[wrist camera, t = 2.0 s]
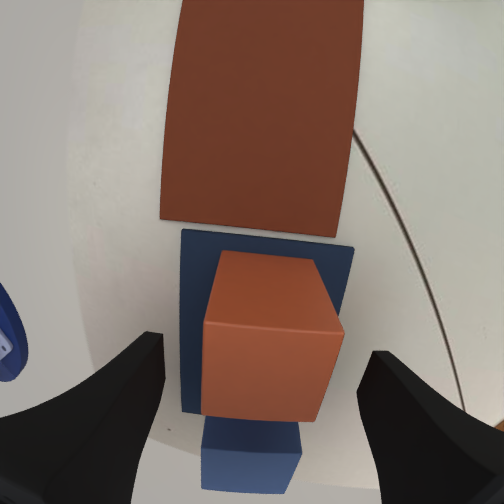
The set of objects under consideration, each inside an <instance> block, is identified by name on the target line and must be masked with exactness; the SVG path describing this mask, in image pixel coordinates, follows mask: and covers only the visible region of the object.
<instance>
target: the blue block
mask: <svg viewBox="0 0 504 504" xmlns="http://www.w3.org/2000/svg"><path fill="white" fill-rule="evenodd" d="M301 455H302V447H301V440H300V432H299V424H298V422H285V421H262V420H247V419H235V418H224V417H215V416H206V417H205V423H204V430H203V437H202V444H201V488H202V489H207V490H215V491H226V492H239V493H260V494H284V493H285V491H286V489H287V487H288V485H289V482H290V480H291V478H292V476H293V474H294V471H295V469H296V467H297V465H298V462H299V460H300V458H301Z"/></svg>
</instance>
